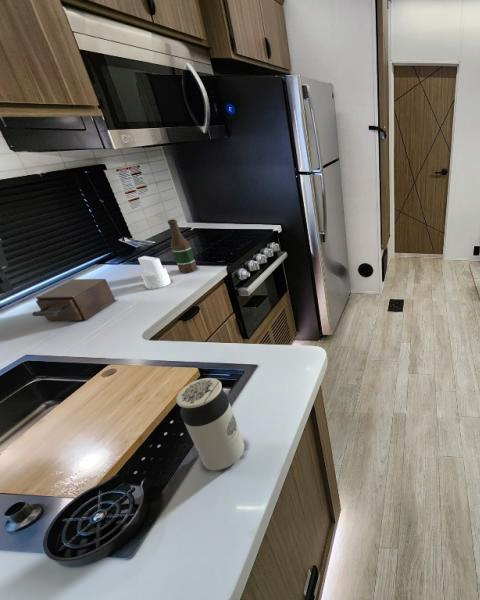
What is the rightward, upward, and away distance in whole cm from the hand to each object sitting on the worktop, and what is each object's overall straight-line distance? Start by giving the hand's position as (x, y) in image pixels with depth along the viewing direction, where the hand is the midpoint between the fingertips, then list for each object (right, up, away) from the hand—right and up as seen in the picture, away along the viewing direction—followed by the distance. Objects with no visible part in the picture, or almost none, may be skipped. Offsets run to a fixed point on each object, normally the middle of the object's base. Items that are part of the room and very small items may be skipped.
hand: (6, 291), depth 101 cm
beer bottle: (+20, +11, +56) cm, 60 cm away
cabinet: (+2, -7, +23) cm, 24 cm away
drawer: (+2, -8, +19) cm, 21 cm away
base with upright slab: (+15, +4, +43) cm, 46 cm away
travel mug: (+83, -36, -31) cm, 96 cm away
